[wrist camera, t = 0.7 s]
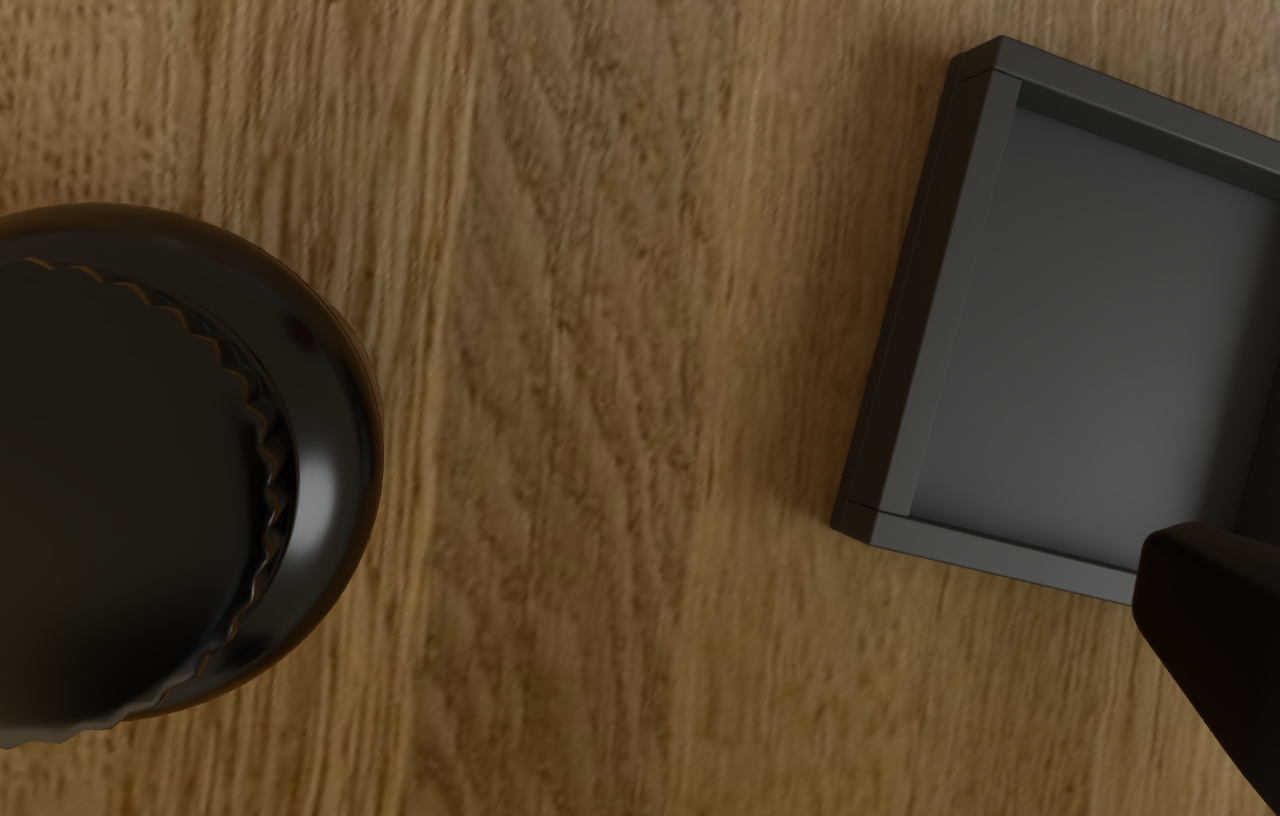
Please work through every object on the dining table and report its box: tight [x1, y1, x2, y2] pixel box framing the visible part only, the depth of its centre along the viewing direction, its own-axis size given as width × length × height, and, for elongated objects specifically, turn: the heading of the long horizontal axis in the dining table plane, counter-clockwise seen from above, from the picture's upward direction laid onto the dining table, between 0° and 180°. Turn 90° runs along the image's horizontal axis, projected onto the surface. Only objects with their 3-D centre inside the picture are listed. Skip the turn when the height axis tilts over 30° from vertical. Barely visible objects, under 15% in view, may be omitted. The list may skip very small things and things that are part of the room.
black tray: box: [830, 35, 1280, 607], centre depth 25 cm, size 12×12×2 cm
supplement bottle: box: [0, 202, 384, 750], centre depth 16 cm, size 7×7×12 cm
